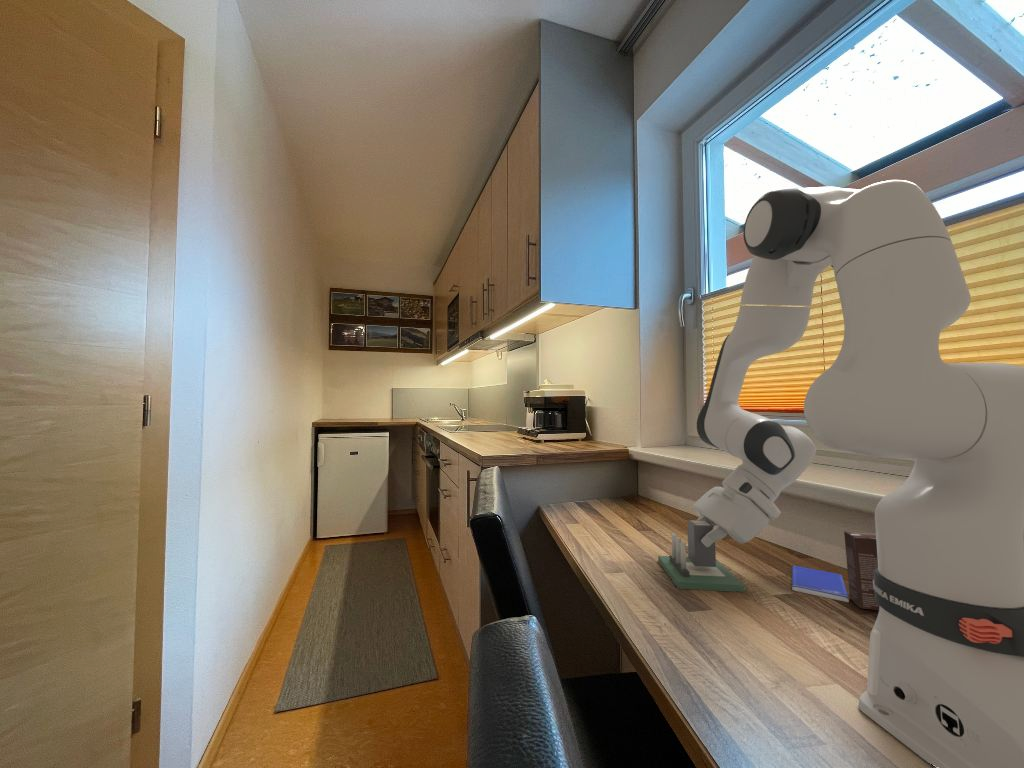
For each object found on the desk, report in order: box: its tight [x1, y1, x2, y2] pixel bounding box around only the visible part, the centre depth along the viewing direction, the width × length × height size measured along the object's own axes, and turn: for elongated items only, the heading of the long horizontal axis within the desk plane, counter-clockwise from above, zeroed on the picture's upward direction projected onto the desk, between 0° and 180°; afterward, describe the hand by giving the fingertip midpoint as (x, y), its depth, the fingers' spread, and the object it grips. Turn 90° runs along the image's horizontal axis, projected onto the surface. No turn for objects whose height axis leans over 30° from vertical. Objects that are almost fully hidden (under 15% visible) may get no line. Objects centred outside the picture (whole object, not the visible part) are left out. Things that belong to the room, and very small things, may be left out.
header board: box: [657, 533, 746, 593], centre depth 81 cm, size 14×12×7 cm
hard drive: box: [791, 565, 850, 603], centre depth 77 cm, size 2×8×12 cm
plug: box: [686, 519, 717, 567], centre depth 81 cm, size 4×4×8 cm
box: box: [843, 530, 880, 611], centre depth 68 cm, size 6×4×12 cm
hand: (697, 539), depth 81 cm, fingers closed on plug, 4 cm apart
